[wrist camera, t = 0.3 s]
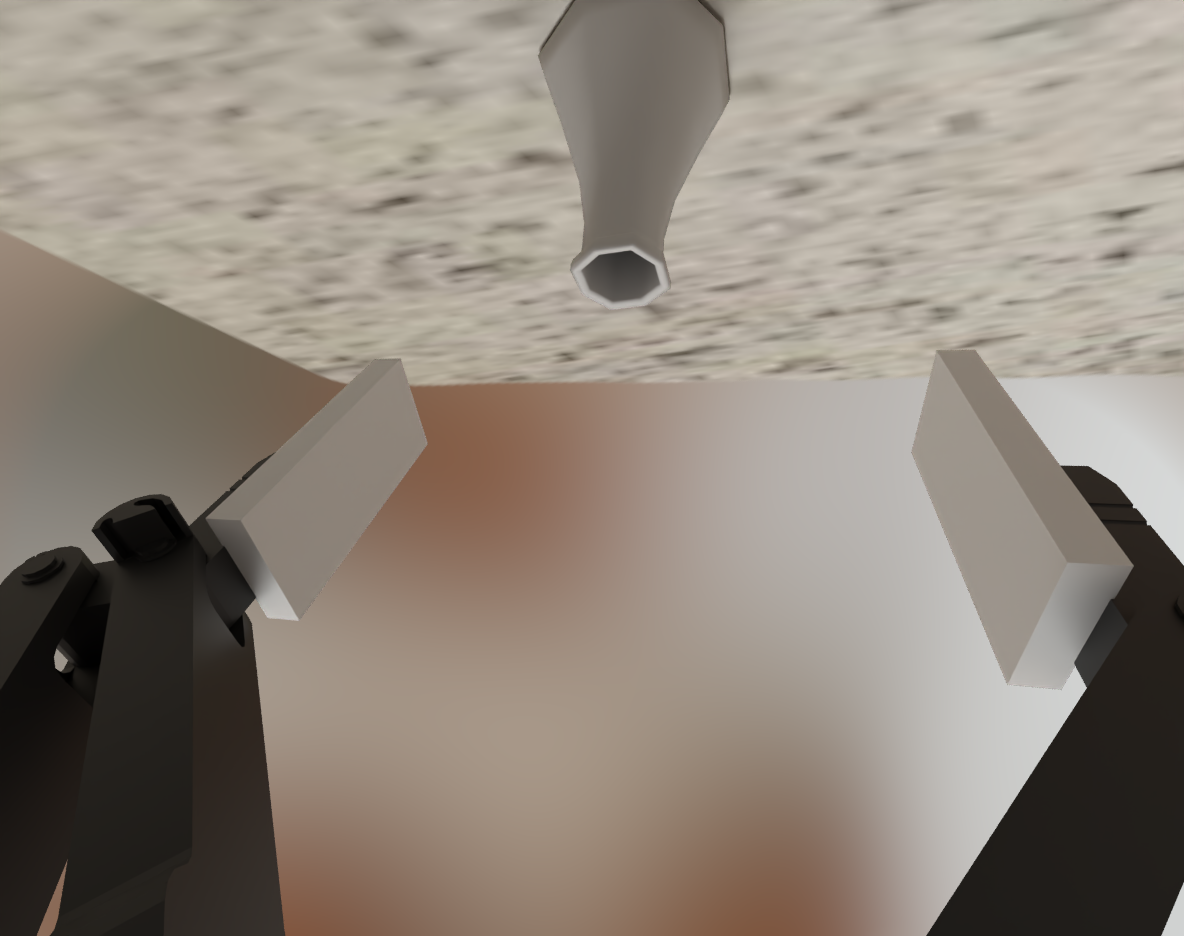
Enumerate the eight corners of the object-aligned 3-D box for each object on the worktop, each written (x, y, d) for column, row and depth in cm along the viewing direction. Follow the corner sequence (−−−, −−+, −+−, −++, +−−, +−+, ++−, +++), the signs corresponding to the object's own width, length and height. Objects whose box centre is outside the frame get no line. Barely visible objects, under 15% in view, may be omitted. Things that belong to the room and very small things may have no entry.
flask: (505, 43, 23) (464, 252, 19) (675, -84, 19) (665, 150, 15) (610, 177, 28) (593, 360, 24) (759, 101, 24) (767, 306, 20)
